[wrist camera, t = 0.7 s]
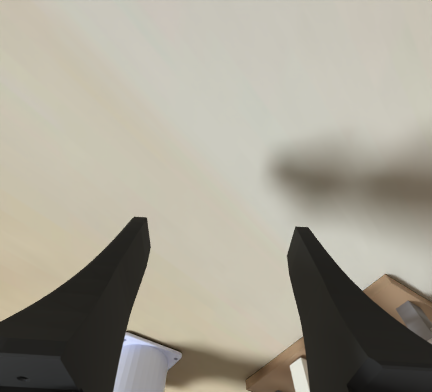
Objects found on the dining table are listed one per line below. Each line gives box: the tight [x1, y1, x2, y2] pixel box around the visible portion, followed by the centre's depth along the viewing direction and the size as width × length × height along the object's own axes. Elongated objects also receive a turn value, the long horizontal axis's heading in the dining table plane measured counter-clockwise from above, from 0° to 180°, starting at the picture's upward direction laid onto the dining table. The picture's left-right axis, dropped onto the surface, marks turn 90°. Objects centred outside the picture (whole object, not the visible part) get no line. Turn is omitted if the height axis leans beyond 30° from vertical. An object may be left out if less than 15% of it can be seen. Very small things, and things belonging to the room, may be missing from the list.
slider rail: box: [246, 274, 432, 392], centre depth 33 cm, size 24×9×6 cm, turn 146°
